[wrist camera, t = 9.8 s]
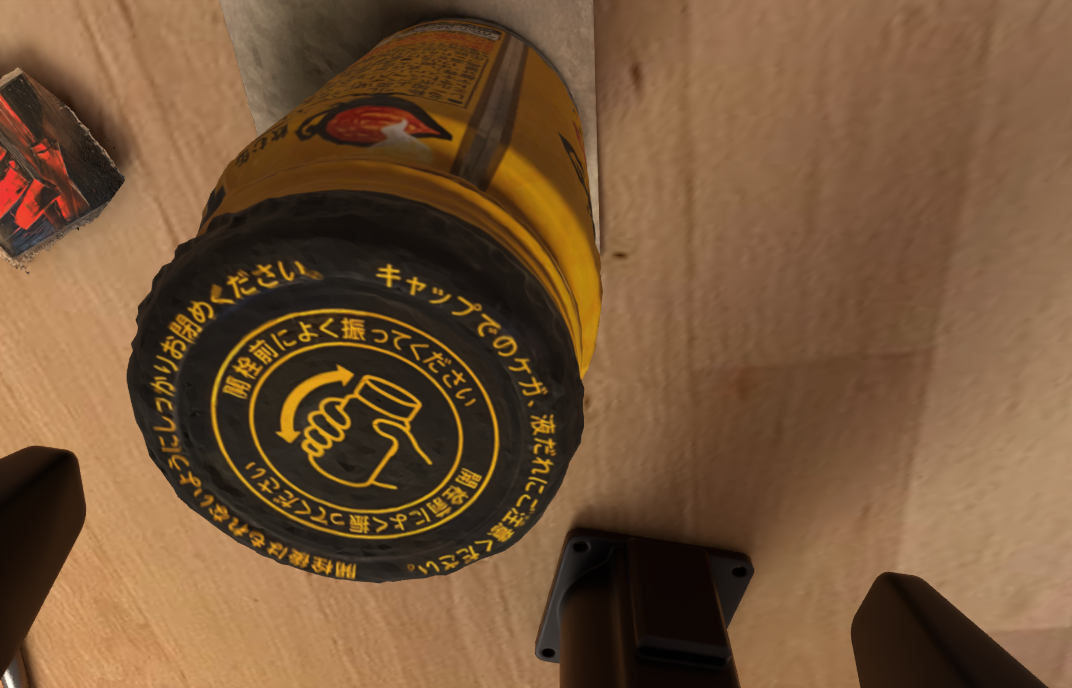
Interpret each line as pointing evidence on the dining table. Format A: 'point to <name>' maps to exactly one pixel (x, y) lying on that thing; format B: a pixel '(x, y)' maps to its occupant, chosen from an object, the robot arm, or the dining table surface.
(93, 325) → the dining table surface
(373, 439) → the condiment
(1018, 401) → the dining table surface
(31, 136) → the torn cardboard piece
